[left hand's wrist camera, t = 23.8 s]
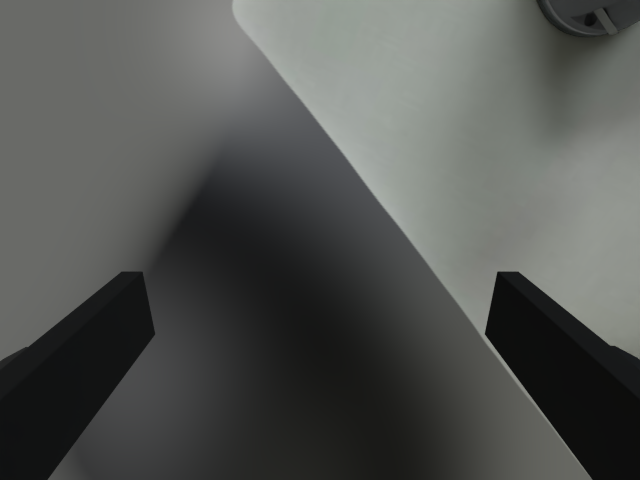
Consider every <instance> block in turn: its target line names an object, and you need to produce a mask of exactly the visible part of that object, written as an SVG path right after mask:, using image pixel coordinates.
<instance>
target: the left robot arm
mask: <svg viewBox="0 0 640 480" xmlns="http://www.w3.org/2000/svg"><path fill="white" fill-rule="evenodd" d="M538 2H539V5H540V7H541V9H542V11H543V13H544V14H545V16H546V17H547V18H548V20H549V21H550V22H551V23H552V24H553V25H554V26H556V27H557V28H558V29H560V30H561V31H563V32H565V33H568V34H570V35H574V36H579V37H594V36H600V35H604V34H608V33H609V35H613V34H617V33H619V32H618V30H621V29H624V28H626V27H628V26H630V25H632V24H634V23H636V22H637V21H639V20H640V0H538ZM154 335H155V331H154V326H153V321H152V316H151V311H150V306H149V301H148V296H147V292H146V287H145V282H144V277H143V272H121V273H120V274H118V275H117V276H116V277H115V278H113V279H112V280H111V281H110V282H108V283H107V284H106V285H105V286H103V287H102V288H101V289H100V290H98V291H97V292H96V293H95V294H93V295H92V296H91V297H90V298H89V299H87V300H86V301H85V302H84V303H82V304H81V305H80V306H79V307H77V308H76V309H75V310H74V311H72V312H71V313H70V314H69V315H68V316H66V317H65V318H64V319H63V320H61V321H60V322H59V323H58V324H56V325H55V326H54V327H53V328H51V329H50V330H49V331H48V332H46V333H45V334H44V335H43V336H41V337H40V338H39V339H38V340H36V341H35V342H34V343H33V344H32V345H30V346H29V347H25V348H23V349H21V350H20V351H18V352H16V353H14V354H12V355H10V356H8V357H6V358H4V359H3V360H1V361H0V480H48V478H49V477H50V475H51V474H52V473H53V471H54V470H55V469H56V467H57V466H58V465H59V463H60V462H61V461H62V459H63V458H64V457H65V455H66V454H67V453H68V451H69V450H70V449H71V447H72V446H73V444H74V443H75V442H76V440H77V439H78V438H79V436H80V435H81V434H82V432H83V431H84V430H85V428H86V427H87V426H88V424H89V423H90V422H91V420H92V419H93V417H94V416H95V415H96V413H97V412H98V411H99V409H100V408H101V407H102V405H103V404H104V403H105V401H106V400H107V398H108V397H109V396H110V394H111V393H112V392H113V390H114V389H115V388H116V386H117V385H118V384H119V382H120V381H121V380H122V378H123V377H124V376H125V374H126V373H127V372H128V370H129V369H130V368H131V366H132V365H133V363H134V362H135V361H136V359H137V358H138V357H139V355H140V354H141V353H142V351H143V350H144V349H145V347H146V346H147V344H148V343H149V342H150V340H151V339H152V338H153V336H154ZM485 335H486V336H487V338H488V339H489V341H490V342H491V343H492V345H493V346H494V347H495V349H496V350H497V351H498V353H499V354H500V355H501V357H502V358H503V359H504V361H505V362H506V363H507V365H508V366H509V368H510V369H511V370H512V372H513V373H514V374H515V376H516V377H517V378H518V380H519V381H520V382H521V384H522V385H523V386H524V388H525V389H526V390H527V392H528V393H529V395H530V396H531V397H532V399H533V400H534V401H535V403H536V404H537V405H538V407H539V408H540V409H541V411H542V412H543V413H544V415H545V416H546V417H547V419H548V420H549V422H550V423H551V424H552V426H553V427H554V428H555V430H556V431H557V432H558V434H559V435H560V436H561V438H562V439H563V440H564V442H565V443H566V444H567V446H568V447H569V449H570V450H571V451H572V453H573V454H574V455H575V457H576V458H577V459H578V461H579V462H580V463H581V465H582V466H583V467H584V469H585V470H586V471H587V473H588V474H589V475H590V477H591V478H592V480H640V360H639V359H638V358H637V357H635V356H633V355H631V354H629V353H627V352H625V351H623V350H621V349H620V348H618V347H616V346H610V345H608V344H607V343H606V342H605V341H604V340H602V339H601V338H600V337H599V336H597V335H596V334H595V333H594V332H592V331H591V330H590V329H589V328H587V327H586V326H585V325H584V324H582V323H581V322H580V321H579V320H578V319H576V318H575V317H574V316H573V315H571V314H570V313H569V312H568V311H566V310H565V309H564V308H563V307H561V306H560V305H559V304H558V303H556V302H555V301H554V300H553V299H551V298H550V297H549V296H548V295H547V294H545V293H544V292H543V291H542V290H540V289H539V288H538V287H537V286H535V285H534V284H533V283H532V282H530V281H529V280H528V279H527V278H525V277H524V276H523V275H522V274H520V273H519V272H497V277H496V282H495V287H494V291H493V296H492V301H491V306H490V311H489V316H488V321H487V326H486V331H485Z"/></svg>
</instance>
